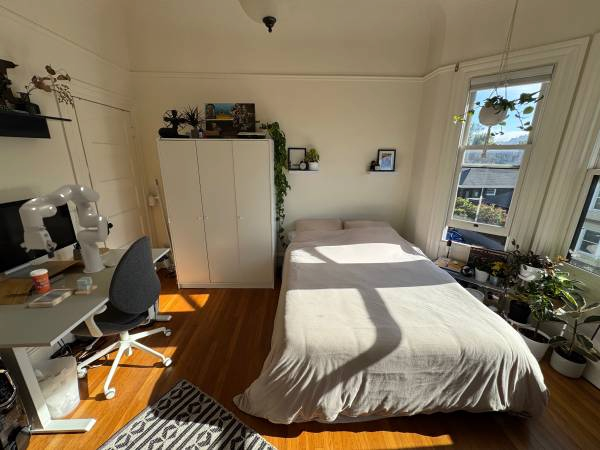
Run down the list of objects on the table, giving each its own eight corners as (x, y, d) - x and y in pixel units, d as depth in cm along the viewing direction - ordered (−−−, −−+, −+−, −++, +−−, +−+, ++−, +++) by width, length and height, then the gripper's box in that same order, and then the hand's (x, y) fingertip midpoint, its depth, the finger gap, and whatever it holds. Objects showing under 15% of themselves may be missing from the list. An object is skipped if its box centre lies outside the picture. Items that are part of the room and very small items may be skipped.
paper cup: (41, 295, 147) (35, 274, 144) (31, 293, 149) (25, 273, 145) (56, 289, 155) (50, 269, 151) (46, 287, 156) (41, 267, 152)
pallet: (85, 287, 158) (83, 275, 156) (97, 287, 159) (94, 275, 156) (75, 294, 149) (72, 282, 147) (87, 294, 150) (84, 282, 148)
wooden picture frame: (53, 292, 151) (52, 288, 150) (74, 291, 152) (74, 288, 151) (29, 307, 135) (28, 303, 135) (53, 306, 137) (52, 302, 136)
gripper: (57, 227, 136) (64, 255, 140) (23, 227, 134) (31, 255, 138) (45, 230, 128) (53, 260, 133) (9, 230, 127) (18, 260, 131)
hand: (42, 258), depth 135 cm, fingers open, 9 cm apart
